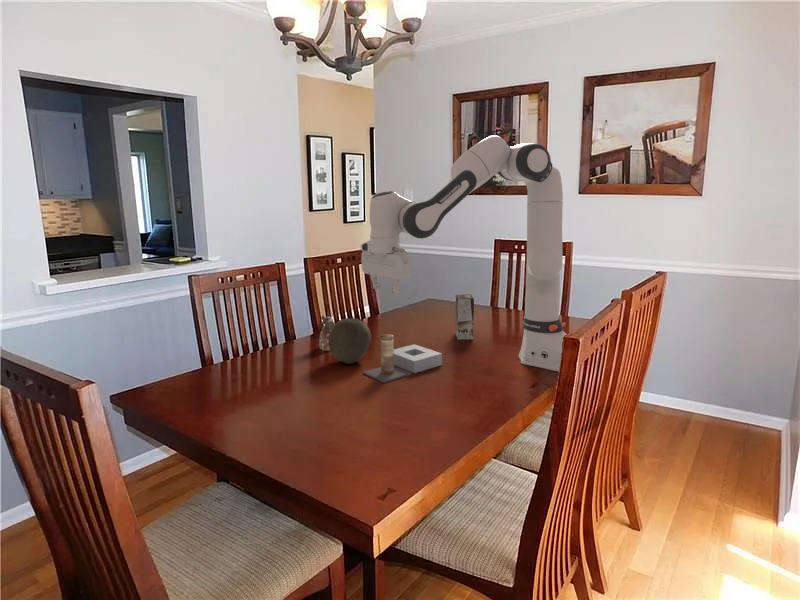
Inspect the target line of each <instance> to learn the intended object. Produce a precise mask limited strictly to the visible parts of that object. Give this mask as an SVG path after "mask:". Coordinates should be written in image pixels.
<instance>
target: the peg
mask: <svg viewBox="0 0 800 600" xmlns="http://www.w3.org/2000/svg"><path fill="white" fill-rule="evenodd" d="M379 337H380V362H381V363H380V364H381V365H380V367H381V373H382V374H386V375H389V374H393V373H394V366H395V365H394V349H395V348H394V334H391V333H390V334H389V333H388V334H387V333H384V334H381V335H380V336H379Z"/></svg>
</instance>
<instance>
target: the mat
mask: <svg viewBox="0 0 800 600" xmlns="http://www.w3.org/2000/svg"><path fill="white" fill-rule="evenodd" d="M412 373H413V372H410V371H408V370H405V369H403V368H400V367H398V366H395V365H394V373H393V374H389V375H386V374H382V373H381V366H380V367H376V368H372V369H369V370H365V371H363V372H362V374H363V375H366V376H368V377H370V378H372V379H374V380H376V381H378V382H381V383H383V384H384V383H385V384H386V383H388V382H392V381H395V380H398V379H402V378H405V377H408V376H411V375H412Z"/></svg>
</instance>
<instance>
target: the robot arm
mask: <svg viewBox="0 0 800 600" xmlns="http://www.w3.org/2000/svg"><path fill="white" fill-rule="evenodd" d="M496 174H498V175H499V176H500V177H501V179H504V180H507V181H510V182H512V181H513V182H514V181H516V182H517V181H518V182H524V184H525V186H526V189H527V198H526V199H527V200H526V201H527V202H526V203H527V204H526V210H527V211H526V215H527V216H526V271H525V272H526V276H525V300H524V302H525V303H524V304H525V305H524V317H523V320H522V321H523V322H522V327H523V336H522V343H521V346H520V351H519V354H518V358H519V360H520V364H523V365H526V366H533V367H536V368H541V369H545V370H550V371H554V372H559V367H560V361H561V353H562V342H563V337H564V336H565V335H568V334H567V333H566V332H565V331H564V329H563V327H565V326H566V322H561V319H560V318H559V317H560V316H559V315H560V314H559V313H560V295H561V294H560V292H561V291H560V289H561V287H560V283H561V279H560V278H561V277H560V276H561V271H562V268H563V200H564V199H563V197H564V194H563V184H562V183H563V182H562V176H561V172H560V170H559V169H558V168H556V167H554V166H553V162H552V160H551V155H550V152H549V151H548V149H547V148H546V147H545V146H544V145H542V144H540V143H536V142H528V143H520V144H516V145H514V146H510V145H509V144H508V143H507V142H506V140H505V139H504V138H502V137H501V136H498V135H489V136H488V137H486V138H484V139H482V140H480V141H479V142H477V143H476V144H474V145H473V146H471V147H470V148H469V149H467V150H466V151H465V152H464V153H462V154H461V155H460V156H459V157H458V158H457V159H456V161H454V162H453V164H452V165H451V168H450V177H451V178H450V180H449V181H448V183H447V184H445V186H443V187H442V188H441V189H439V191H438V192H436V193H435V194H434V195H433V196H432V197H430V198H429V199H427V200H426V201H425V200H424V201H421V202H415V201H413V200H410V199H407V198H405V197H404V196H401V195H400V194H398V193H397V192H396V191H395V190H389V191H383V192H378V193H375V194H374V195H373V196H372V197H371V199H370V202H369V203H370V204H369V224H370V233H369V240H368V241H366V242H364V243H361V244H360V250H361V252H362V253H361V257H360V258H361V269H362V272H363V274H366V275H370V279H371V283H372V286H373V287H372V289H374V290H380V289H381V283H380V282H379V279H378V278H379V277H381V278H387V279H392V280H393V283H394V284H393V286H392V287H391V293H392V294H394V295H396V294H399V293H400V287H401V285H402V283H403V281H407V280H410V278H411V275H412V274H411V265H410V258H409V256H408V255H409V254H408V253H407V251H406V250H405V248H402V247H401V248H400V246H401V245H400V233H406V234H408V235H410V236H412V237H413V238H417V239H427V238H429V237H431V236H432V235H434V233H436V231H437V230H438V228H439V226H440V224H441V222H442V220H443V219H444V218H445V216H447V215H448V213H450V212H451V211H452V210H453V209H454V208H455V207H456V206H457V205H458V204H460V203H461V202H462V200H464V199H465V198H466V197H467V196H468V195H470V194H471V193H472V192H474V191H476V189H478V188H479V187H481V186H483V185H484V184H485V183H487V182H488V180H490V179H491V178H492V177H494V176H495V175H496Z"/></svg>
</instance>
